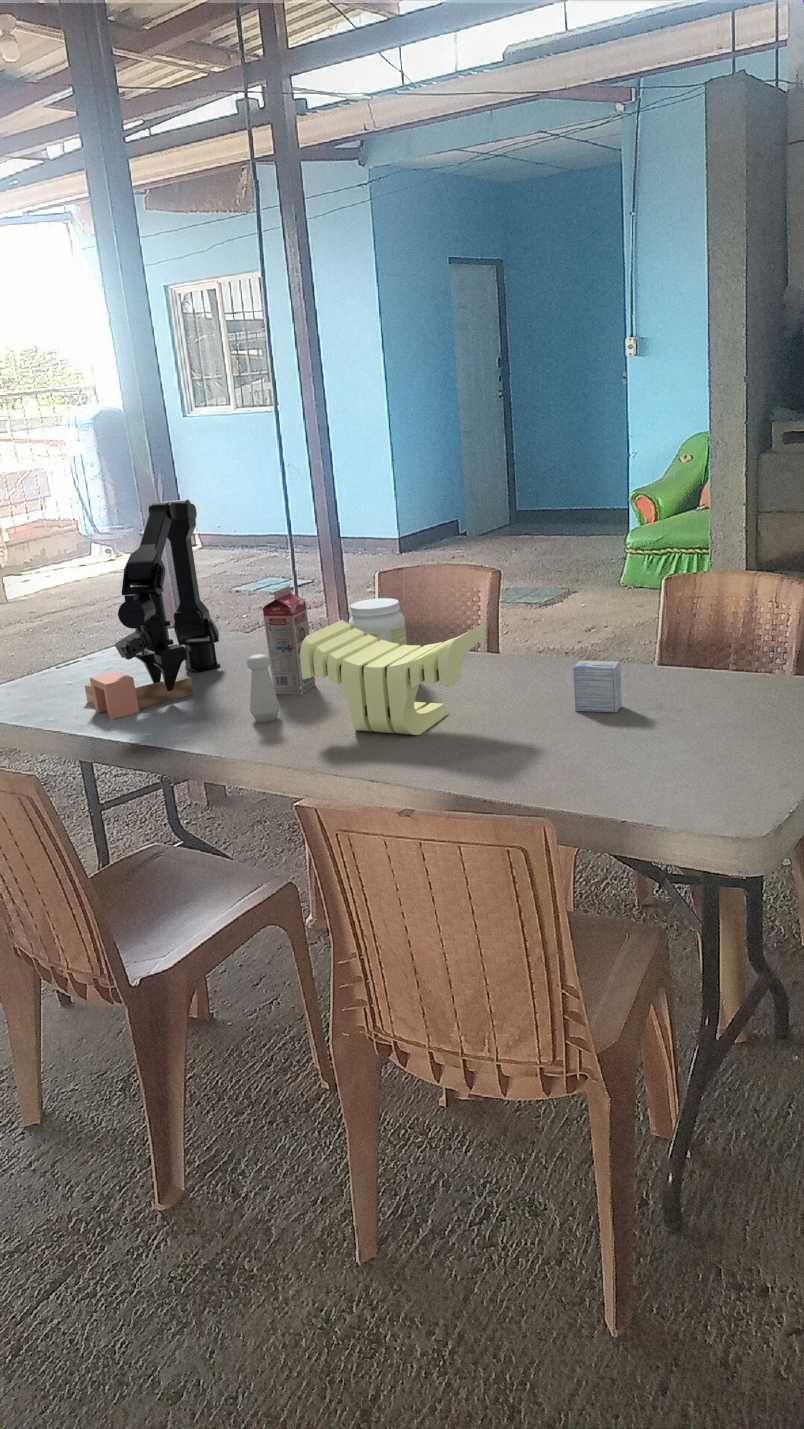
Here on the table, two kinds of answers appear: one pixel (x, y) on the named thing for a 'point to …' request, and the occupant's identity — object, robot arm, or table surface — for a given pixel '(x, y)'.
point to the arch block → (114, 694)
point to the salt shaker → (262, 690)
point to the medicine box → (597, 686)
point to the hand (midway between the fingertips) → (163, 688)
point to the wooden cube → (89, 693)
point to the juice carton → (286, 641)
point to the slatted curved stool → (385, 675)
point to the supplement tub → (379, 619)
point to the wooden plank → (163, 692)
